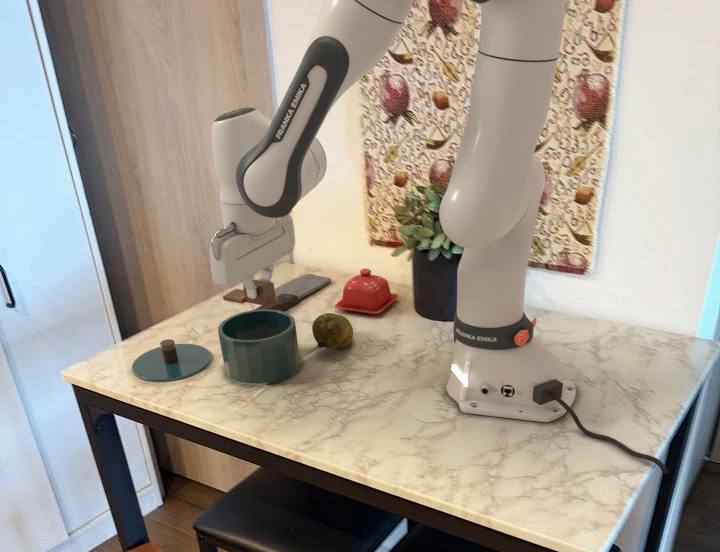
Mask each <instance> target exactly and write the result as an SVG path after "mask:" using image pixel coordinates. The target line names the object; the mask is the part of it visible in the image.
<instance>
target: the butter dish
mask: <svg viewBox="0 0 720 552" xmlns="http://www.w3.org/2000/svg"><path fill="white" fill-rule="evenodd" d="M371 273H372V270H371V269H369V268H361V269H360V270H359V274H356V275H354V276H352V278H350V279H348V280H347V282H346V283H345V284H344V286H343V292H342V298H341V300H339V301H337V302H336V304H335V305H334V308H335V309H338V310H344V311H349V312H355V313H362V314H369V315H377V314H380V313H382V312H383V311H385V309H387V308H388V307H389V306H390V305H391V304H392V303H394V302H395V301H396V300H397V299H398V298H399V297H400V296H399V294H397V293H392V292H391V287H390V284H389V282H388V280H387V279H386V278H385V277H382V276H379V275H375V274H371Z"/></svg>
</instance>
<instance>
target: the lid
mask: <svg viewBox="0 0 720 552" xmlns="http://www.w3.org/2000/svg"><path fill="white" fill-rule="evenodd" d="M159 345H160V346H158V347H156V348H153V349H150V350H148V351H146V352H144V353H142V354H140V355H139V356H138V357H137V358H135V360H134V361H133V363H132V365H131V370H132V373H133V374H134V375H135V376H136V377H137V378H138V379H141V380H144V381H147V382H153V383H155V382H158V383H161V382H165V383H166V382H173V381H174V382H175V381H178V380H183V379H186V378H189V377H192V376H194V375H196V374H198V373H200V372H202V371H203V370H204V369H205V368H207V367H208V365H210V363H211V360H212V356H211V352H210V351H209V350H208V349H207V348H206V347H204V346H201V345H199V344H194V343H176V341H175V340H174V339H172V338H171V339H170V338H169V339H164V340H161V341H160V343H159Z"/></svg>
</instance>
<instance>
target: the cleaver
mask: <svg viewBox="0 0 720 552" xmlns="http://www.w3.org/2000/svg"><path fill="white" fill-rule="evenodd" d="M330 282H332V278H331V277H327V276H322V275H316V274H312V273H310V274H309V273H308V274H304V275H301V276H299V277H296V278H294V279H291V280H290V281H288V282H285V283H283V284H281V285H280V286H277V287H276V288H274V289H275V297H276V302H275V303H273V304H272V305H270V306H264V305H259V306H258V307H256V308H255V309H253V310H263V309H270V310H279V311H284V310H286V309H289V308H290V307H292V306H294V305H296V304H297V303H299V300H301V299H303V298H305V297H306V296H308V295H310V294H312V293H314V292H316V291H317V290H319V289H321V288H323V287H324V286H326V285H327V284H329V283H330Z"/></svg>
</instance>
